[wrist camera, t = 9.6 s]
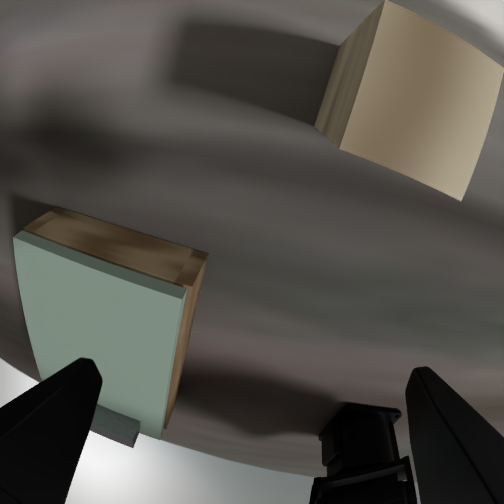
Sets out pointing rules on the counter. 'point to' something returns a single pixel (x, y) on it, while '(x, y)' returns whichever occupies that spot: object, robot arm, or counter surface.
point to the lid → (102, 331)
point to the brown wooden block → (411, 98)
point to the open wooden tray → (132, 265)
